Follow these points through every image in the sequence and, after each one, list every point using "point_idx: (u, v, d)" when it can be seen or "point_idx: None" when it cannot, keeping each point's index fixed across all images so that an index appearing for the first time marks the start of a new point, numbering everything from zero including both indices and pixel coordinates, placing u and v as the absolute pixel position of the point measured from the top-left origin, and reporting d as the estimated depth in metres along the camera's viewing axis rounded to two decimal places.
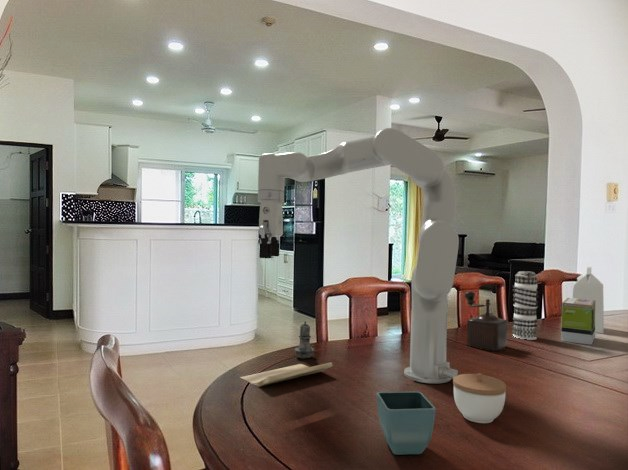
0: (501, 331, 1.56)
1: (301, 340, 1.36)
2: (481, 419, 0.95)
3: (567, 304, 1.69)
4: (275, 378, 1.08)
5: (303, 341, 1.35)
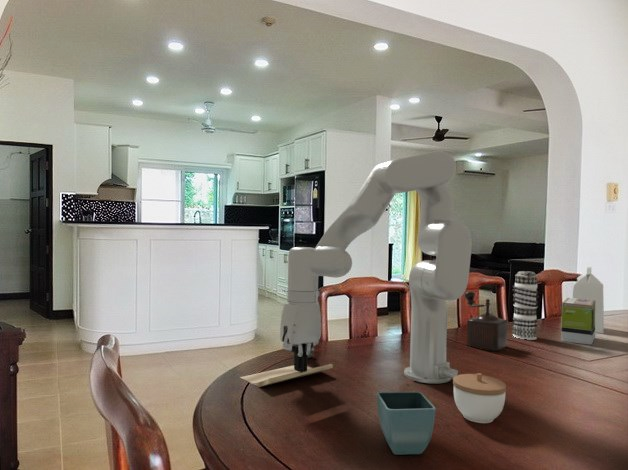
0: (501, 331, 1.56)
1: None
2: (481, 419, 0.95)
3: (567, 304, 1.69)
4: (275, 380, 1.08)
5: None
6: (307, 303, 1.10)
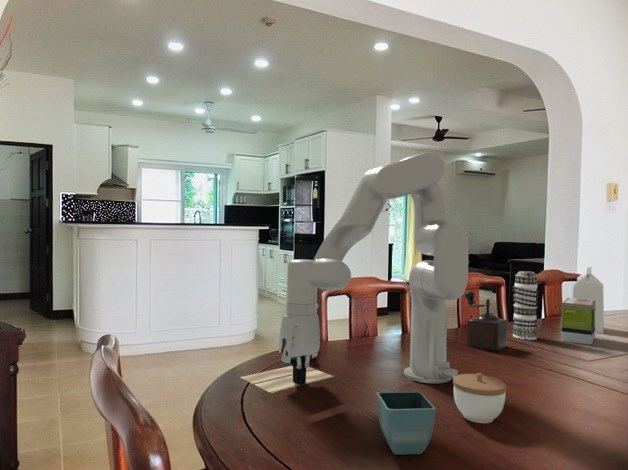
0: (501, 331, 1.56)
1: None
2: (481, 419, 0.95)
3: (567, 304, 1.69)
4: None
5: None
6: (306, 315, 1.10)
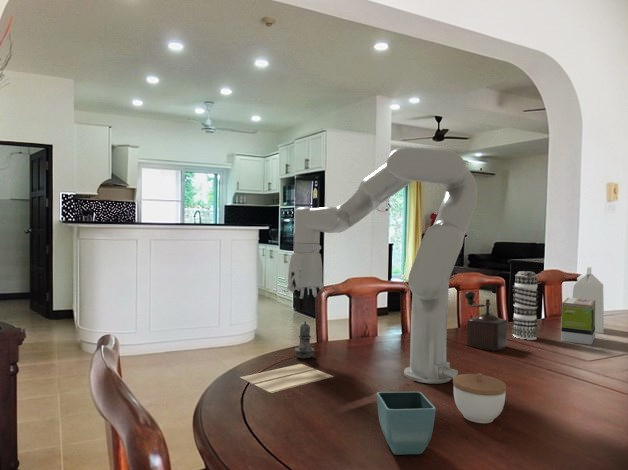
0: (501, 331, 1.56)
1: (301, 340, 1.36)
2: (481, 419, 0.95)
3: (567, 304, 1.69)
4: None
5: (303, 341, 1.35)
6: (311, 253, 1.33)
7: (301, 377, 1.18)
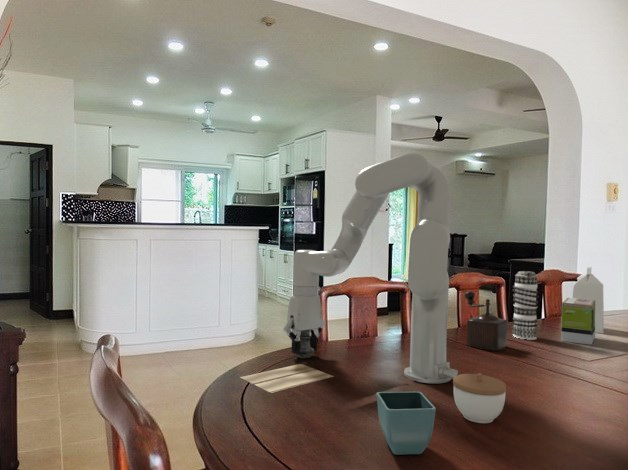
0: (501, 331, 1.56)
1: (301, 340, 1.36)
2: (481, 419, 0.95)
3: (567, 304, 1.69)
4: None
5: (303, 341, 1.35)
6: (310, 296, 1.33)
7: (301, 377, 1.18)
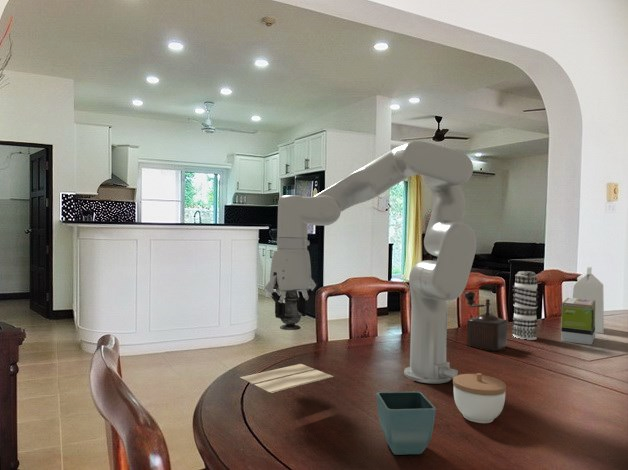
0: (501, 331, 1.56)
1: (286, 302, 1.14)
2: (481, 419, 0.95)
3: (567, 304, 1.69)
4: None
5: (289, 303, 1.14)
6: (296, 249, 1.11)
7: (301, 377, 1.18)
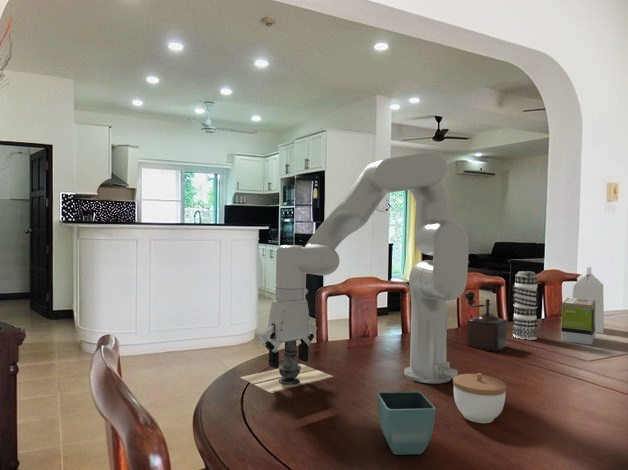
0: (501, 331, 1.56)
1: (286, 356, 1.14)
2: (481, 419, 0.95)
3: (567, 304, 1.69)
4: None
5: (288, 357, 1.13)
6: (295, 300, 1.11)
7: (301, 377, 1.18)
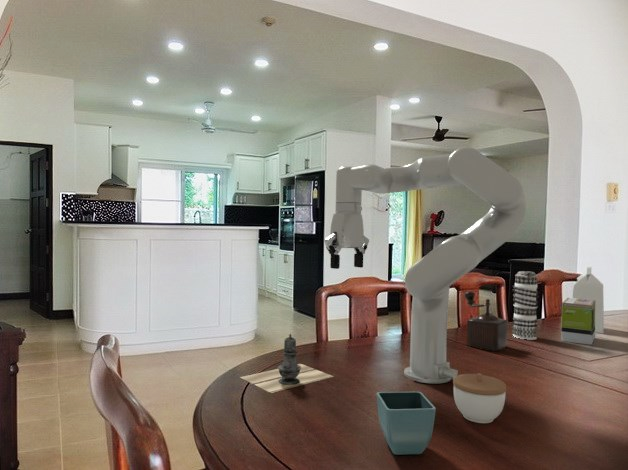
0: (501, 331, 1.56)
1: (285, 357, 1.14)
2: (481, 419, 0.95)
3: (567, 304, 1.69)
4: None
5: (288, 358, 1.13)
6: (353, 212, 1.31)
7: (301, 377, 1.18)
